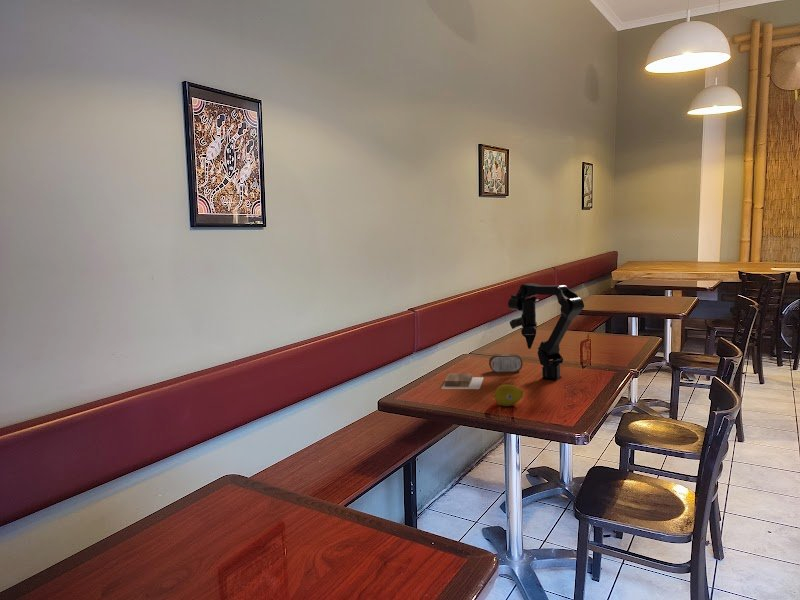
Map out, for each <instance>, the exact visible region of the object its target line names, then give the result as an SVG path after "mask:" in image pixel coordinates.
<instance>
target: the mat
mask: <svg viewBox="0 0 800 600" xmlns="http://www.w3.org/2000/svg"><path fill="white" fill-rule="evenodd" d="M483 381H484V377H483V376H481V377H480V376H478V377H476V376H475V377H474V376H472V380H471V383H470V385H469V387H450V386H445V381H444V383H443V384H442V386H441V388H440V389H446V390H447V389H448V390H449V389H450V390H451V389H452V390H453V389H455V390H480V389H481V387H482V383H483Z"/></svg>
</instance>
